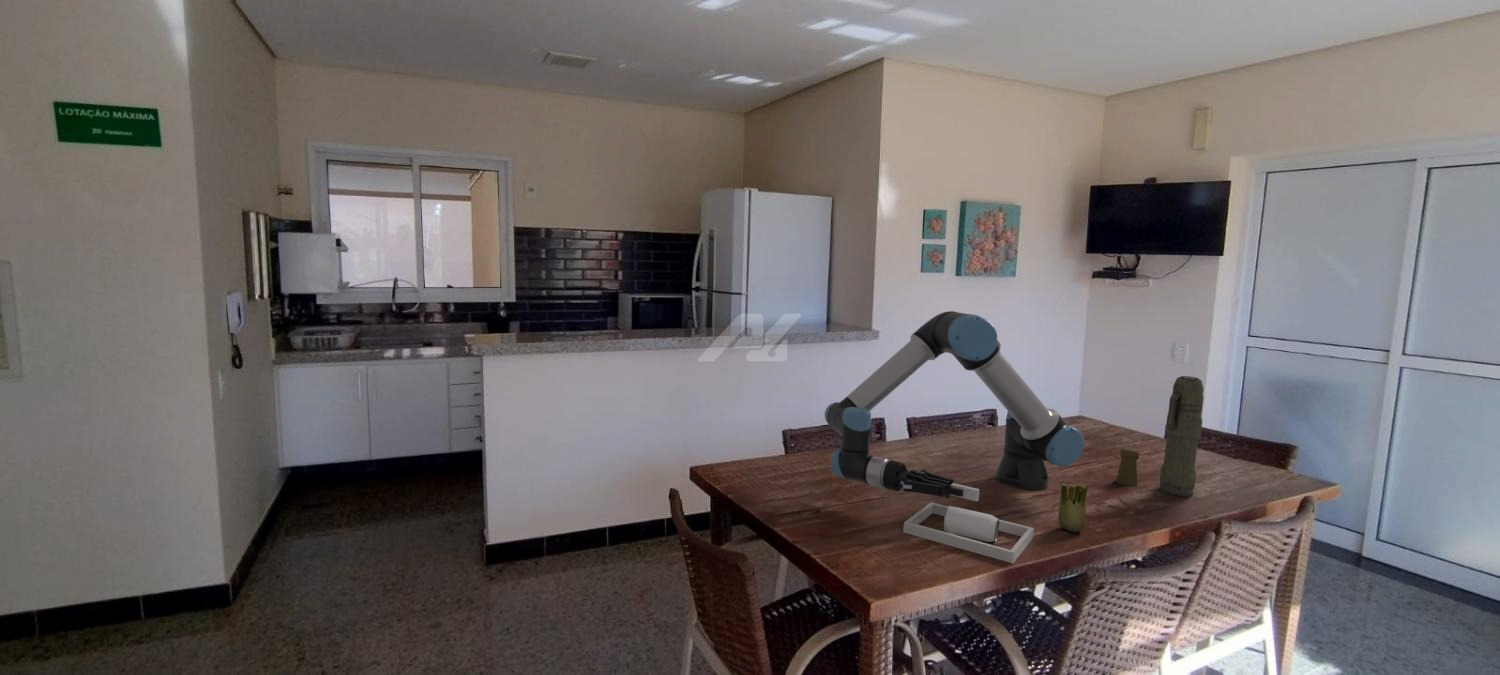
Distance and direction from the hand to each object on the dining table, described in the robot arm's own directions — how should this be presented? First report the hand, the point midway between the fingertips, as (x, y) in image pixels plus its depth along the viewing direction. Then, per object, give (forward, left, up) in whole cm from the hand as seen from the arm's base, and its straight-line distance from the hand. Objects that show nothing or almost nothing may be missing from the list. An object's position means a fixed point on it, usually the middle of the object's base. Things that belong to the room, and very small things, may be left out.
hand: (977, 495), depth 163 cm
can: (+6, -3, -7) cm, 10 cm away
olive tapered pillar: (-64, -45, -11) cm, 79 cm away
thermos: (-75, -38, -11) cm, 84 cm away
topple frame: (+1, -1, -10) cm, 11 cm away
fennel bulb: (-27, -6, -11) cm, 29 cm away
